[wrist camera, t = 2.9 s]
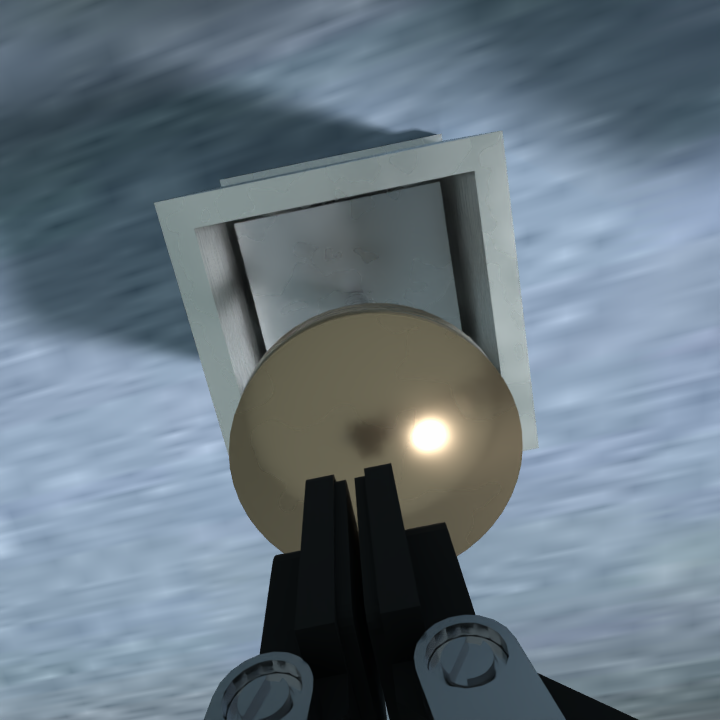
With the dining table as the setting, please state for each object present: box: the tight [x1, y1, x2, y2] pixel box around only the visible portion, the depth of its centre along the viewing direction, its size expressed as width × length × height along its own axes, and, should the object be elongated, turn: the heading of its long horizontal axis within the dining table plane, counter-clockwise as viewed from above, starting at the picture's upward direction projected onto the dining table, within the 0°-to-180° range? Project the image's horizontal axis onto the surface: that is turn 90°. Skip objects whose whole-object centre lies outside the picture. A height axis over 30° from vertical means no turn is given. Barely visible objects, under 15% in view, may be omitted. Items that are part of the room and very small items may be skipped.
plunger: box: [229, 181, 523, 556], centre depth 23 cm, size 10×10×17 cm
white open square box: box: [154, 131, 539, 455], centre depth 33 cm, size 14×14×18 cm
